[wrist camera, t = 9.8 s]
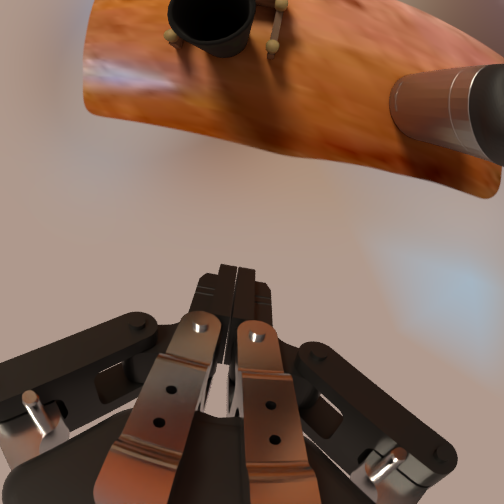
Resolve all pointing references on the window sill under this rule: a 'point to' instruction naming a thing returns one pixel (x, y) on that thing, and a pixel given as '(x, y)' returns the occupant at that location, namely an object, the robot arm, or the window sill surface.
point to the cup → (213, 24)
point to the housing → (280, 4)
